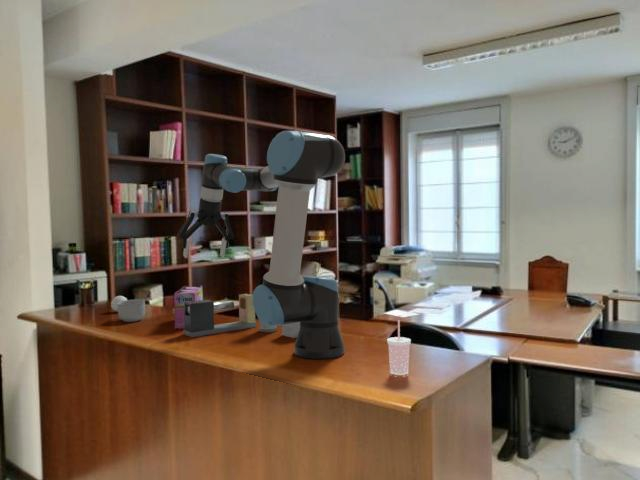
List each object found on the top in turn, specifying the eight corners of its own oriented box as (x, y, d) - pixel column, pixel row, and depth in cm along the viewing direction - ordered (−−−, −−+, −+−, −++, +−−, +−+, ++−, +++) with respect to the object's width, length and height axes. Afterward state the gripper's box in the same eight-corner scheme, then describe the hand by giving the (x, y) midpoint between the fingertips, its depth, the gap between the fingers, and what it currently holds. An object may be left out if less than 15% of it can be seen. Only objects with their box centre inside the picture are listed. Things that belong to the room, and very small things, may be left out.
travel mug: (275, 333, 184) (274, 277, 183) (257, 332, 185) (256, 277, 184) (279, 329, 190) (279, 275, 189) (262, 328, 191) (261, 275, 190)
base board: (192, 337, 179) (191, 332, 179) (183, 333, 184) (183, 329, 184) (256, 326, 195) (256, 323, 195) (246, 324, 200) (246, 320, 200)
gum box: (185, 317, 217) (184, 285, 217) (204, 316, 218) (203, 284, 218) (174, 328, 194) (173, 293, 193) (195, 328, 194) (194, 292, 194)
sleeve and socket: (191, 332, 179) (190, 302, 179) (184, 330, 184) (183, 300, 183) (255, 322, 195) (254, 295, 195) (247, 320, 200) (246, 293, 199)
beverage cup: (389, 369, 137) (388, 317, 136) (412, 371, 135) (412, 318, 134) (385, 376, 131) (385, 322, 130) (409, 378, 129) (409, 323, 128)
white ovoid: (113, 310, 235) (113, 294, 235) (130, 310, 236) (130, 294, 236) (107, 314, 225) (106, 298, 225) (124, 314, 226) (124, 297, 226)
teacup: (148, 321, 209) (148, 301, 209) (121, 324, 203) (120, 304, 203) (139, 316, 221) (139, 297, 221) (113, 319, 215) (112, 300, 215)
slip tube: (190, 314, 180) (190, 306, 180) (186, 313, 183) (186, 305, 182) (234, 309, 191) (234, 301, 191) (230, 308, 193) (230, 300, 193)
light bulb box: (303, 330, 187) (303, 301, 187) (316, 333, 182) (316, 303, 182) (281, 335, 180) (281, 304, 179) (294, 338, 175) (293, 307, 175)
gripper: (240, 198, 188) (233, 253, 193) (172, 194, 174) (166, 253, 180) (248, 203, 181) (240, 259, 187) (178, 199, 168) (171, 260, 174)
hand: (204, 256), depth 184 cm, fingers open, 13 cm apart
